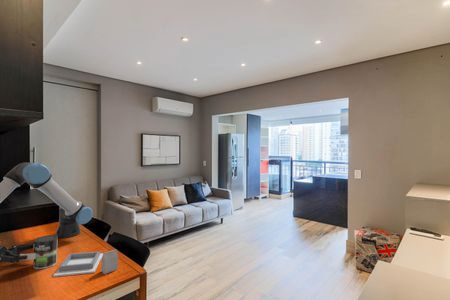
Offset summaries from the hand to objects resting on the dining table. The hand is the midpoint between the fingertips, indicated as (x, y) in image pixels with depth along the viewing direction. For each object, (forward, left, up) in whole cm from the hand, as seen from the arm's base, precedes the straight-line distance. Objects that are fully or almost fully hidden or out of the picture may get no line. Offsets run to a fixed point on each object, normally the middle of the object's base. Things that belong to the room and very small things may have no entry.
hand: (41, 250), depth 127 cm
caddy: (+3, +20, -8) cm, 21 cm away
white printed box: (+13, +36, -8) cm, 39 cm away
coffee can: (-1, +2, -8) cm, 8 cm away
